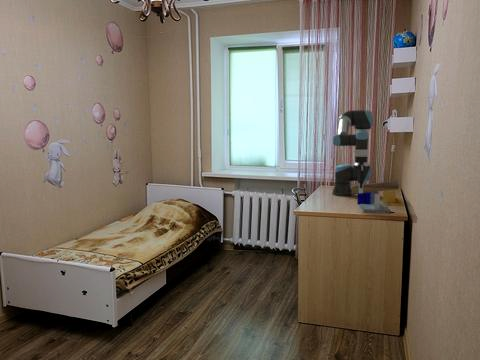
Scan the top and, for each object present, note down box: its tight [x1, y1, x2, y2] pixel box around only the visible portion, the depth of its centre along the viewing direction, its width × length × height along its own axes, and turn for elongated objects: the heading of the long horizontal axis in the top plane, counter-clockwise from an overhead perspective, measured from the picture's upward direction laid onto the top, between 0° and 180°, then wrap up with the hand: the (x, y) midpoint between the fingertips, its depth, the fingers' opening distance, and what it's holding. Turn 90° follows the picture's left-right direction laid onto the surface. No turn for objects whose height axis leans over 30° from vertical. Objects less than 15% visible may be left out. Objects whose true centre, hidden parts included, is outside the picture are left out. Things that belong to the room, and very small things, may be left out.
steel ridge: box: [370, 191, 381, 210], centre depth 258 cm, size 18×3×10 cm, turn 170°
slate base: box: [359, 203, 391, 214], centre depth 259 cm, size 18×16×2 cm
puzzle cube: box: [356, 192, 371, 205], centre depth 277 cm, size 10×10×10 cm
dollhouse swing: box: [382, 190, 403, 207], centre depth 275 cm, size 10×10×9 cm
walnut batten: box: [351, 180, 400, 195], centre depth 257 cm, size 4×28×5 cm, turn 80°
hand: (360, 192), depth 259 cm, fingers closed on walnut batten, 3 cm apart
